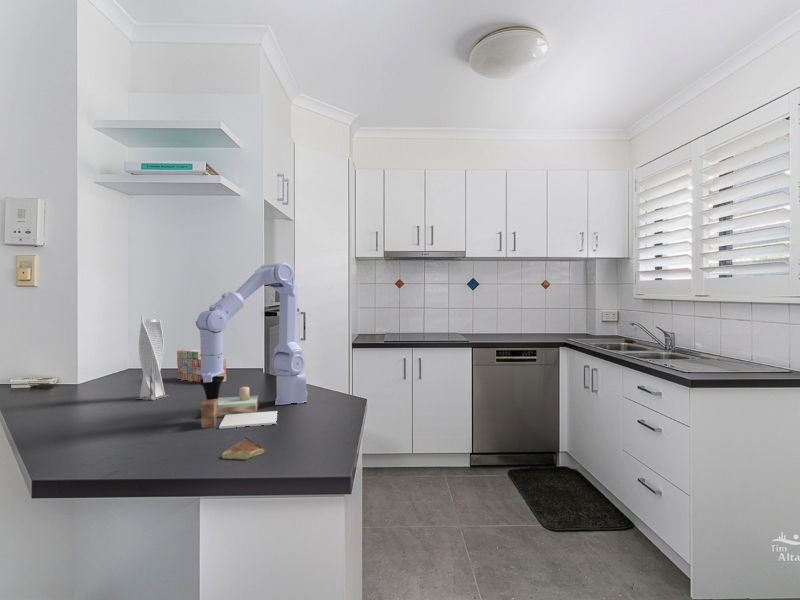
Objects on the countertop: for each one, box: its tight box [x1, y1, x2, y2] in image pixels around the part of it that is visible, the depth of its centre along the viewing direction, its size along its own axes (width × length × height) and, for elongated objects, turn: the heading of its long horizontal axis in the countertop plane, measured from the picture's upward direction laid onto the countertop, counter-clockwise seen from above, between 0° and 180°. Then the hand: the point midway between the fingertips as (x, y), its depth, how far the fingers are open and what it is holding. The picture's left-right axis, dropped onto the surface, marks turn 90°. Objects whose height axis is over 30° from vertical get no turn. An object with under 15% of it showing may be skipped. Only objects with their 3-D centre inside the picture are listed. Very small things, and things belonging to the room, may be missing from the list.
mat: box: [218, 410, 278, 430], centre depth 122 cm, size 14×12×1 cm
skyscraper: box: [135, 314, 170, 401], centre depth 152 cm, size 8×8×28 cm
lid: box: [218, 386, 259, 408], centre depth 132 cm, size 13×10×4 cm
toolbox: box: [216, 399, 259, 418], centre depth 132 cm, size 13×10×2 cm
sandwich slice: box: [221, 437, 265, 460], centre depth 98 cm, size 11×8×2 cm
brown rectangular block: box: [200, 398, 218, 429], centre depth 119 cm, size 3×7×6 cm, turn 14°
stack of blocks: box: [176, 348, 227, 383], centre depth 183 cm, size 21×6×12 cm, turn 63°
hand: (212, 404), depth 124 cm, fingers closed
